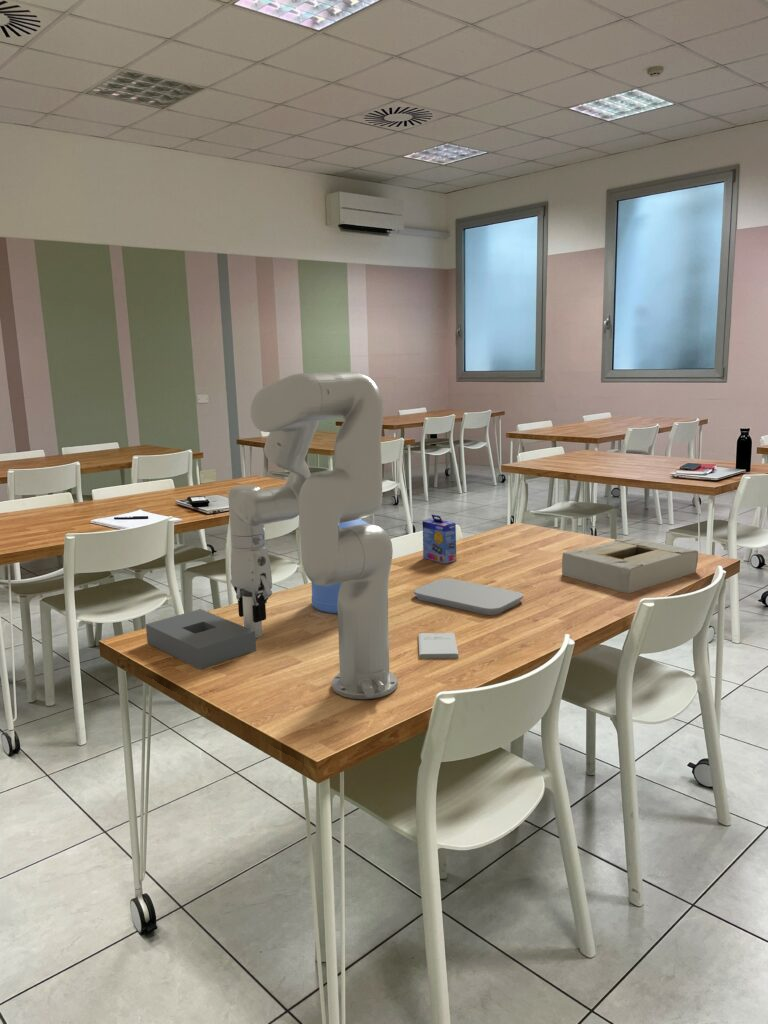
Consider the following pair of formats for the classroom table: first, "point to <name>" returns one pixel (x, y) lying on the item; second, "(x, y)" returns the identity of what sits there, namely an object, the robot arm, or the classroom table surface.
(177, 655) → the socket block
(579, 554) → the box
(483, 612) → the tablet
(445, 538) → the ink cartridge box
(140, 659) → the classroom table surface
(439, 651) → the external hard drive
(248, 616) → the peg
